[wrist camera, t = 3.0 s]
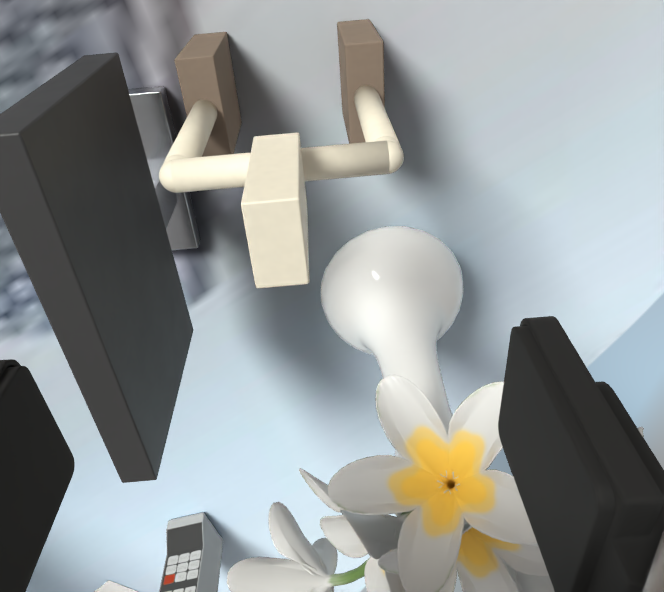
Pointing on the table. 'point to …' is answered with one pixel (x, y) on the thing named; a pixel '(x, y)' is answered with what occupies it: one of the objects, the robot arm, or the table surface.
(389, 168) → the headphones
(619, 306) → the table surface
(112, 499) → the table surface
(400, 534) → the flower vase
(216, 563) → the vintage mobile phone
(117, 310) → the monitor
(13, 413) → the robot arm
